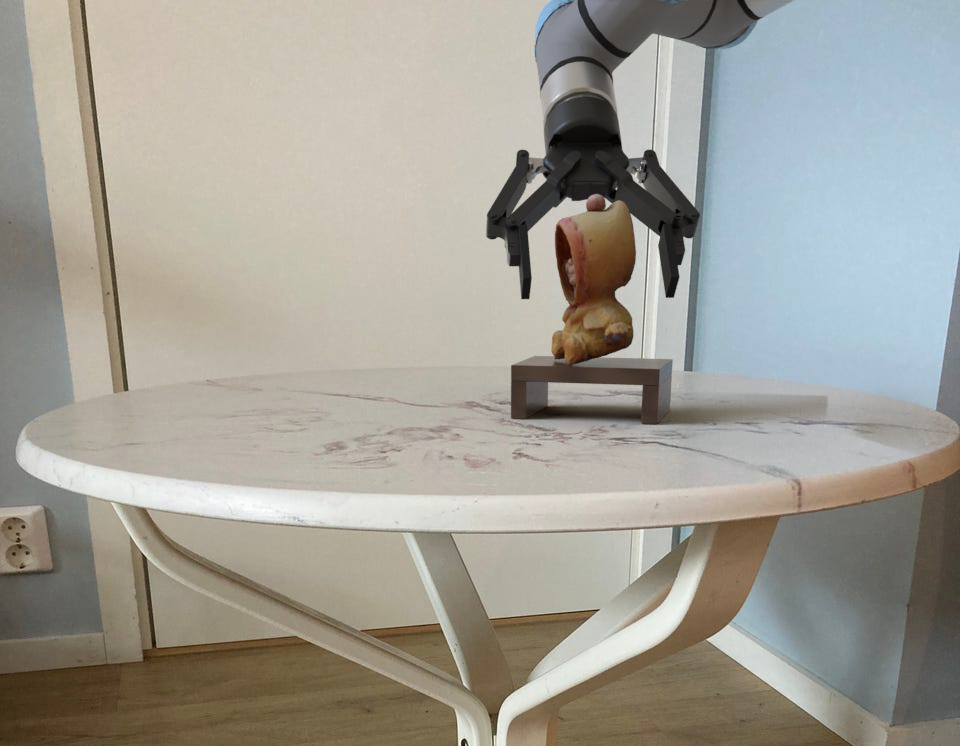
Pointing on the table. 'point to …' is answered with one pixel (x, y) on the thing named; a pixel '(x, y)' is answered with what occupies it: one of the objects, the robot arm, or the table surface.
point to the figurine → (594, 280)
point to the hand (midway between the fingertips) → (599, 288)
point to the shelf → (591, 382)
